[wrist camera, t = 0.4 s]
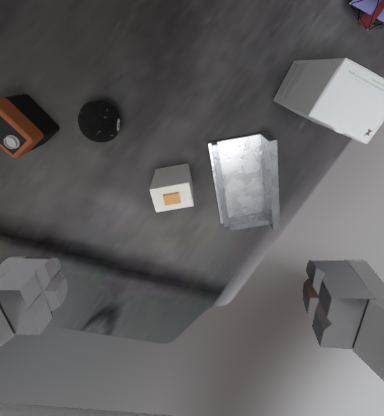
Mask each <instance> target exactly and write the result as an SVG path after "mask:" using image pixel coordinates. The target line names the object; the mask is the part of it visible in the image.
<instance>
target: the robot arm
mask: <svg viewBox="0 0 384 416" xmlns="http://www.w3.org/2000/svg"><path fill="white" fill-rule="evenodd" d="M60 269H61V265H60V263H59V260H58V259H56V258H52V257H10V258H7V259H6V260H5V261H4V262H3V263H2V264H0V346H2V345H3V344H4V343H6V342H7V341H8V340H10V339H11V338H12V337H13V336H14V334H30V335H34V334H35V335H36V334H37V335H40V334H41V333H42V331H43V330H44V328H45V327H46V326H47V324H48V323H49V321H50V320H51V319H52V317H53V316H52V311H53V310H55V309H56V308H58V307H59V306H61V304H62V302H63V301H64V299H65V297H66V293H67V282H66V279H65V277H63V276H62V275H61V274H60V273H59V271H60ZM306 272H307V274H308V276H309V278H308V279H307V280H306V281H305V282H304V287H303V300H304V304H305V308H306V311H307V313H308V314H309V315H310V316H311V317H312V318H313V319H314V320H313V325H312V327H313V329H314V332H315V335H316V337H317V340H318V342H319V345H320V347H329V348H342V349H353V351H354V352H355V353H356V354H357V355H358V356H359V357H360V358H361V359H362V360H363V361H364V362H365V363H366V364H367V365H368V366H369V367H370V368H371V369H372V370H373V371H374V372H375V373H376V374H377V375H378V376H379V377H380V378H381V379H383V380H384V283H383V282H382V280H381V279H380V278H379V276H378V275H377V274H376V273H375V271H374V270H373V269H372V268H371V267H370V265H369V264H368V263H367V262H366V261H364V260H344V261H343V260H341V261H340V260H339V261H338V260H337V261H335V260H332V261H331V260H329V261H328V260H309V262H308V264H307V269H306ZM0 416H173V415H160V414H159V415H158V414H146V413H133V412H118V411H105V410H92V409H78V408H64V407H51V406H38V405H24V404H11V403H0Z"/></svg>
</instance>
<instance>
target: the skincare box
mask: <svg viewBox="0 0 384 416" xmlns="http://www.w3.org/2000/svg"><path fill="white" fill-rule="evenodd" d="M273 101H275V102H276V103H278V104H280V105H282V106H284V107H286V108H287V109H289V110H291V111H293V112H295V113H297V114H299V115H301V116H303V117H305V118H307V119H309V120H311V121H313V122H315V123H317V124H320V125H322V126H324V127H327V128H329V129H331V130H334V131H336V132H338V133H341V134H343V135H345V136H348V137H350V138H353V139H355V140H358V141H360V142H362V143H365V144H367V143H368V142H369V141H370V139H371V138H372V136H373V135H374V134H375V132H376V131H377V130H378V128H379V127H380V125H381V124H382V123H383V121H384V78H382V77H380V76H378V75H377V74H375V73H373V72H371V71H370V70H368V69H366V68H364V67H362V66H361V65H359V64H357V63H355V62H353V61H351V60H349V59H347V58H343V59H319V60H297V61H293V63H292V65H291V67H290V69H289V71H288V73H287V74H286V76H285V78H284V80H283V82H282V84H281V86H280V88H279V90H278V92H277V93H276V95H275V97H274V99H273Z"/></svg>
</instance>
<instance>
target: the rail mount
mask: <svg viewBox="0 0 384 416" xmlns="http://www.w3.org/2000/svg"><path fill="white" fill-rule="evenodd" d="M208 146H209V153H210V159H211V165H212V172H213V178H214V184H215V191H216V197H217V203H218V210H219V216H220V222H221V223H223V224H224V227H228V226H230V230H237V229H243V228H249V227H255V226H261V225H267V224H270V225H271V227H272V229H273V230H276V229H280V216H279V185H278V155H277V139H275V138H274V137H273V136H271V135H270V134H269V133H268V132H260V133H255V134H250V135H245V136H239V137H234V138H229V139H224V140H218V141H213V142H208Z"/></svg>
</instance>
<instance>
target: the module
mask: <svg viewBox="0 0 384 416" xmlns="http://www.w3.org/2000/svg"><path fill="white" fill-rule="evenodd" d="M150 193H151V196H152V200H153V203H154V207H155V210H156V212H162V211H168V210H173V209H179V208H185V207H191V206H194V202H193V184H192V179H191V174H190V169H189V164H188V163H187V164H181V165H176V166H170V167H165V168H160V169H156V170H155V173H154V176H153V180H152V183H151V186H150Z"/></svg>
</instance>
